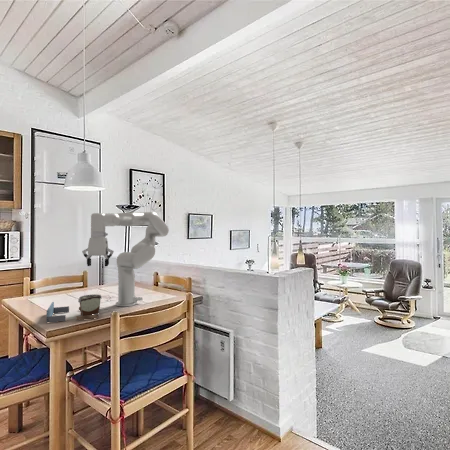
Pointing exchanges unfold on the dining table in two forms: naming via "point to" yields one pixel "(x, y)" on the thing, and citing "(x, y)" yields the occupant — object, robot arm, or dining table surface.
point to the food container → (89, 304)
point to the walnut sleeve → (86, 317)
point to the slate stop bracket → (56, 310)
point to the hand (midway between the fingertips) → (97, 266)
